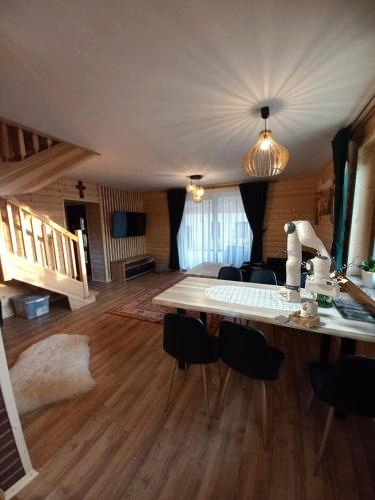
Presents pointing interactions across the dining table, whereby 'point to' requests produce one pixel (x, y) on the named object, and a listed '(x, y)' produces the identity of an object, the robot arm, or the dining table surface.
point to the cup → (311, 307)
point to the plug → (304, 313)
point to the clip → (299, 311)
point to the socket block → (305, 320)
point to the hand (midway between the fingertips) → (321, 300)
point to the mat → (282, 318)
